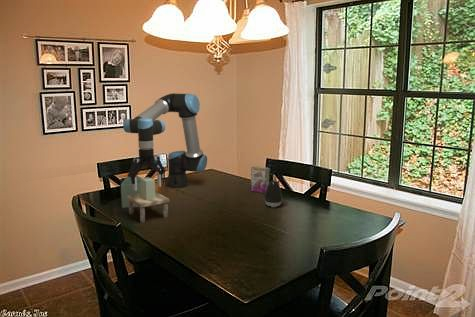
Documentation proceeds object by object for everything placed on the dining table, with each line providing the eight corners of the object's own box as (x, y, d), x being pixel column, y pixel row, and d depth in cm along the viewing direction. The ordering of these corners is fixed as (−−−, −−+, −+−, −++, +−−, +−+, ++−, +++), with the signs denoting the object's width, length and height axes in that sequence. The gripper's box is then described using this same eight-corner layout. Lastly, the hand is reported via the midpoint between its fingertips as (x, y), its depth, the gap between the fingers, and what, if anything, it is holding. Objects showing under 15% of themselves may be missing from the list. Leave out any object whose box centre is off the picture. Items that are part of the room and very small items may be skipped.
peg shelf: (155, 208, 228) (154, 191, 226) (169, 217, 214) (169, 199, 212) (127, 213, 219) (126, 195, 217) (141, 223, 205) (140, 204, 203)
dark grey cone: (285, 205, 235) (286, 180, 232) (274, 210, 228) (275, 183, 224) (271, 202, 242) (272, 177, 239) (260, 206, 234) (261, 180, 231)
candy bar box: (250, 191, 264) (250, 166, 261) (254, 189, 268) (254, 165, 265) (265, 194, 258) (266, 169, 255) (269, 192, 262) (269, 167, 259)
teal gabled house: (132, 210, 225) (130, 175, 221) (121, 207, 229) (120, 173, 225) (152, 202, 239) (151, 169, 235) (142, 200, 243) (140, 168, 239)
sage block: (149, 194, 219) (148, 176, 217) (155, 198, 213) (154, 180, 211) (140, 196, 216) (139, 178, 214) (146, 200, 210) (145, 181, 208)
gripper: (164, 145, 220) (165, 182, 224) (120, 149, 205) (121, 189, 209) (171, 147, 214) (172, 185, 218) (125, 151, 199) (127, 193, 203)
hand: (147, 187), depth 214 cm, fingers open, 13 cm apart
